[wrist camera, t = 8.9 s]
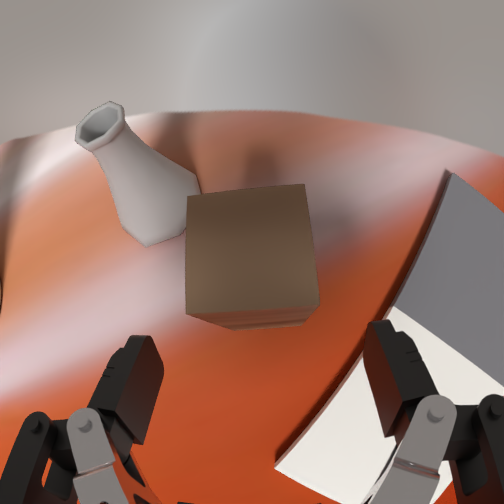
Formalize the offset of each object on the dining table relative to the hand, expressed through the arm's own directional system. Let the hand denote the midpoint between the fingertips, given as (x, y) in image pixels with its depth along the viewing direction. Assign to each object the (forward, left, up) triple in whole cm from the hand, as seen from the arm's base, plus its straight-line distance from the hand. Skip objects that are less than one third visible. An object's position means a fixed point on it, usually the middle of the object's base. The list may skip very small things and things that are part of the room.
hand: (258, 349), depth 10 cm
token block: (+3, +2, -9) cm, 9 cm away
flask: (+4, +13, -9) cm, 16 cm away
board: (+7, -12, -9) cm, 16 cm away
